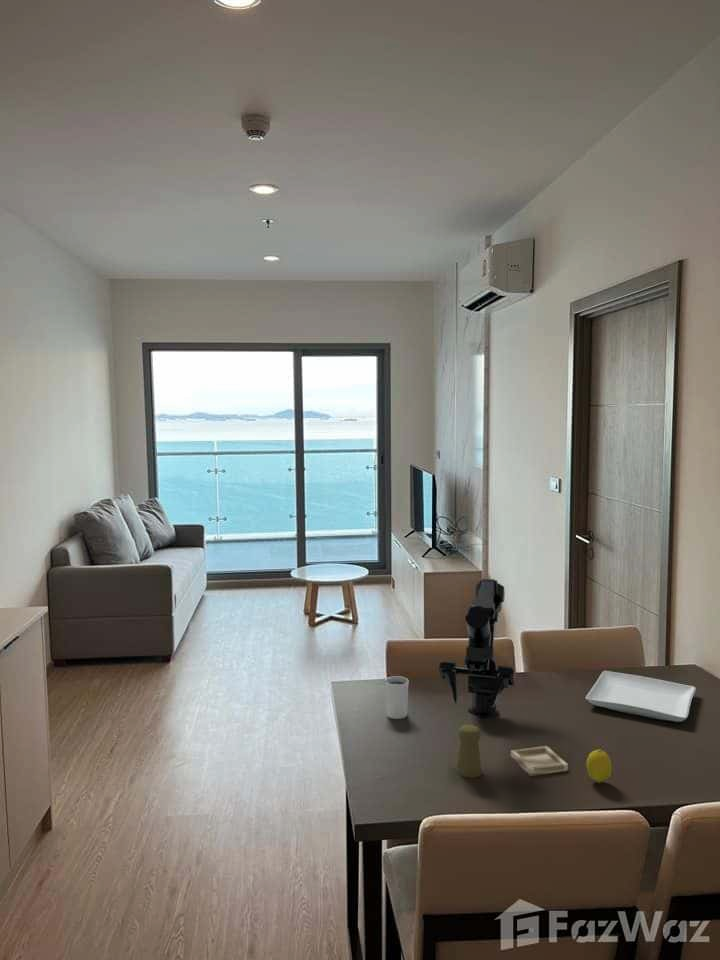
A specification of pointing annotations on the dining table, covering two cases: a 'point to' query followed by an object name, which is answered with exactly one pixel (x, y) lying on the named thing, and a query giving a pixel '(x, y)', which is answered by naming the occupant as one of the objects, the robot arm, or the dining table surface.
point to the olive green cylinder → (469, 752)
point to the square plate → (642, 696)
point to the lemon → (599, 766)
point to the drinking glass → (396, 697)
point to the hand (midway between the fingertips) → (473, 704)
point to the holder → (538, 760)
